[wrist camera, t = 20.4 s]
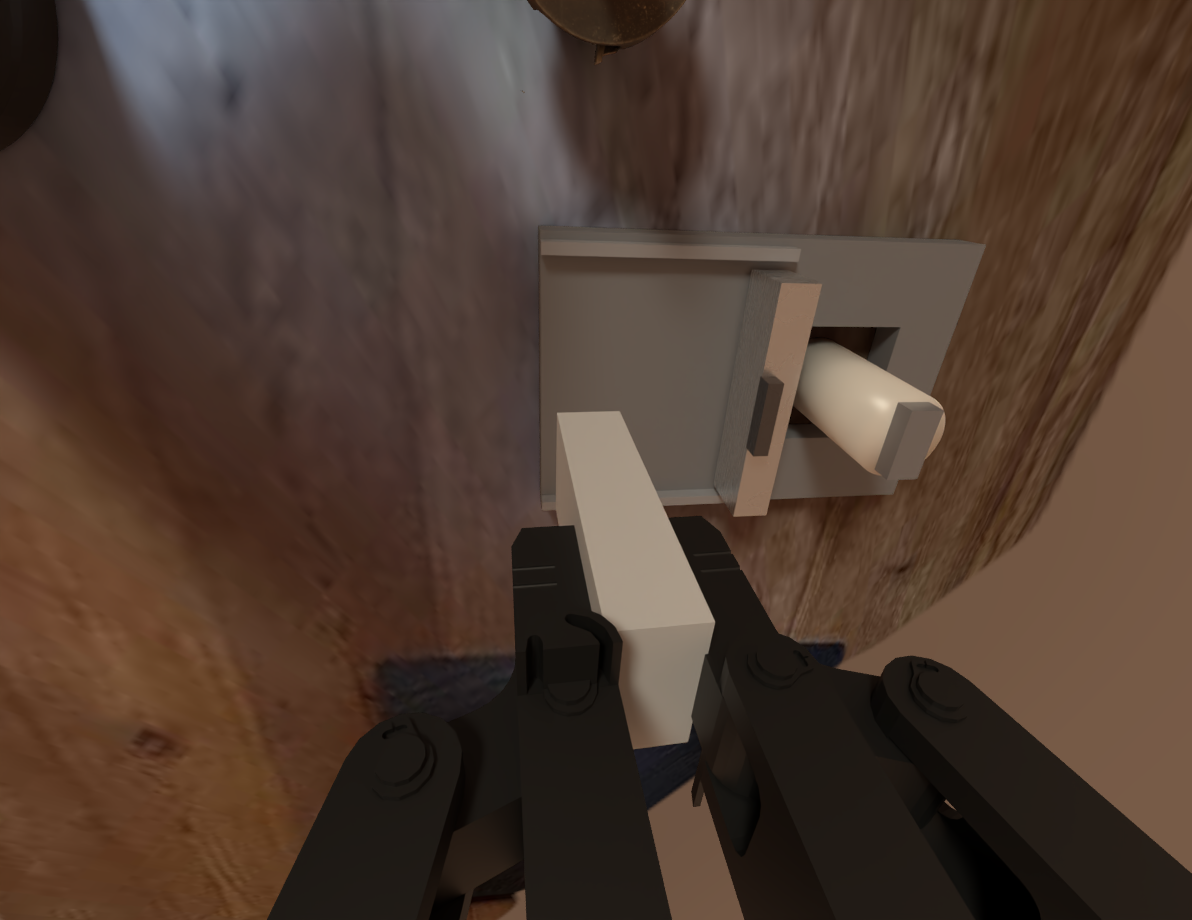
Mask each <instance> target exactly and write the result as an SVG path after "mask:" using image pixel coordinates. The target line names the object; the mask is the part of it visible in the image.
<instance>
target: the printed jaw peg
mask: <svg viewBox="0 0 1192 920" xmlns="http://www.w3.org/2000/svg"><path fill="white" fill-rule="evenodd" d="M793 406H794V407H795V408H796V409H797V410H798V411H800V412H801V413H802V414H803V415H804V416H805V417H806V418H808V419H809V420H810V421H811V422H812V423H813V424H814V425H816V426H817V427H818V428H819V429H820V430H821V431H822V432H824V433H825V434H826V435H827V436H828V437H829V438H830V439H832V440H833V441H834V442H835V443H836V444H837V445H838V446H839V447H841V448H842V449H843V450H844V451H845V452H846V453H847V454H849V455H850V456H851V457H852V458H853V459H854V460H855V461H857V462H858V463H859V464H860V465H861V466H862V467H863V468H865V469H866V470H867V471H868V472H870V473H872V474H875V475H880V476H883V477H884V478H885V479H886V480H902V479H917V478H918V475H919V473H920V470H921V468H922V465H923V463H924V460H925V459H926V458H927V457H928V456H929V455H930V454H931V453H932V451H933V450H934V449H935V448H936V446H937V444H938V443H939V441H940V439H941V437H942V434H943V432H944V427H945V414H944V410H943V408H942V406H941V405H940V403H939V402H938V401H937V400H935V399H934V398H932V397H931V396H929V395H927V394H925V393H923V392H922V391H920V390H918V389H916V388H915V387H913V386H911V385H909V384H908V383H906V382H904V381H902V380H901V379H899V378H897V377H895V376H894V375H892V374H890V373H888V372H887V371H885V370H883V369H881V368H880V367H878V366H876V365H874V364H873V363H871V362H869V361H867V360H866V359H864V358H862V357H860V356H859V355H857V354H855V353H853V352H852V351H850V350H848V349H846V348H845V347H843V346H841V345H839V344H837V343H836V342H834V341H832V340H830V339H828V338H823V337H815V338H810V339H809V341H808V345H807V349H806V353H805V357H804V361H803V365H802V370H801V374H800V378H799V382H798V386H797V390H796V394H795V398H794V403H793Z"/></svg>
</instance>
